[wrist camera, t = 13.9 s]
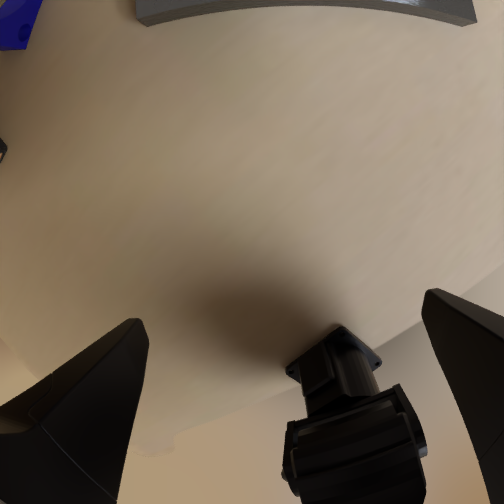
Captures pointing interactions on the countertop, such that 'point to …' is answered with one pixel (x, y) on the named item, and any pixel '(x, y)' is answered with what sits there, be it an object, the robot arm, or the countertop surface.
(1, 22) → the cable clip
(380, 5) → the grey peg holder base
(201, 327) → the countertop surface
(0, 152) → the ammunition clip
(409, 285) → the countertop surface
